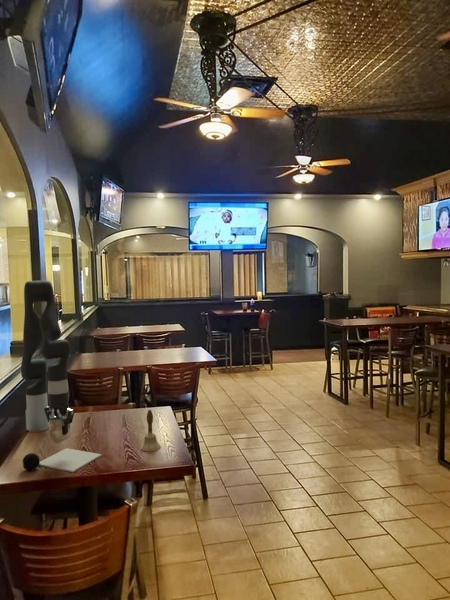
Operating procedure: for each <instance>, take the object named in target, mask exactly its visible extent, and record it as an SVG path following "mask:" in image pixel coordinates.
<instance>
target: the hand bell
mask: <svg viewBox="0 0 450 600" xmlns="http://www.w3.org/2000/svg"><path fill="white" fill-rule="evenodd" d="M153 421H154V416H153V412H152V410H151V409H148V410H147V413H146V422H147V430H148V431H147V433H146V434H145V435H144V440H143V443H142V445H141V446H140V448H139V449H140V450H141V451H142V452H149V453H150V452H156V451H158V450H160V449H161V444H159V443H158V441H157V437H156V434H155V433H154V432H153Z"/></svg>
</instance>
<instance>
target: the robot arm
mask: <svg viewBox="0 0 450 600" xmlns="http://www.w3.org/2000/svg"><path fill="white" fill-rule="evenodd" d="M23 300H24V301H23V302H24V317H23V318H24V321H23V331H22V332H23V333H22V334H23V335H22V337H23V338H22V340H23V341H22V342H23V343H22V345H23V347H22V357H21V367H20V375H21V378H22V379H23V380H25V381H31V380H36V379H37V381H36V382H34V383H33V384H31V385H29V386H27V387H26V388H25V400H26V409H25V412H24V413H25V428H26V430H27V431H28V432H30V433H38V432H44V431H46V430H48V429H50V428H49V419H52V418H55V417H59V419H60V420H61V422H62V435H66V434H67V433H68V424H70V425H71V424H72V423H73V420H74V416H75V411H76V410H75V409H74V408H73V409H71V408H70V406H69V401H70V398H69V397H70V395H69V394H70V393H69V381H68V362H69V357H70V354H71V350H72V348H71V344H70V342H69V340H67V339H62V338H61V339H60V337H61V336H62V332H61V328H60V324H59V320H58V316H57V309H56V301H55V300H56V299H55V292H54V289H53V284H52V282H51V281H50V280H46V279H44V280H43V279H42V280H29V281H25V284H24V287H23ZM45 302H46V306H45V309H44V311H43V312H42V314H41V316H40V315H39V313H38V312H37V311H36V309H35V307H34V304H35V303H45ZM40 348H41V355H42V357H43V358H41V357H40V358H33V356H34V355H35V353H37V351H38V350H39V349H40ZM32 358H33V359H32ZM52 359H53V360H54V359H59V360H58V361H57V362H55V363H52V364H51V365H49V366H47V361H46V360H52ZM63 416H64V417H63ZM64 419H65V421H64Z"/></svg>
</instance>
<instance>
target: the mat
mask: <svg viewBox="0 0 450 600" xmlns="http://www.w3.org/2000/svg"><path fill="white" fill-rule="evenodd" d="M100 457H102V454H100V453H96V452H91V451H84V450H78V449H72V448H68V447H66V448H64V449H62V450H60V451H58V452H57V453H54V454H53V455H50V456H47V458H44V459H43V460H41V461H40V463H39V466H38V467H44V468H49V469H54V470H59V471H65V472H69V473H70V472H71V473H74V472H76V471H78V470H80V469H81V468H83V467H85V466H86V465H88V464H91V462H93V461H95V460H97V459H99V458H100Z"/></svg>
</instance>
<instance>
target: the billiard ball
mask: <svg viewBox="0 0 450 600" xmlns="http://www.w3.org/2000/svg"><path fill="white" fill-rule="evenodd" d="M40 460H41V459H40V456H39V455H38V454H36V453H34V452H33V453H32V452H30V453H28V454H26V455H25V456H23V458H22V467H23V468H24V470H26V471H34V470H36V469H37V468H38V467H40V466H39V463H40Z"/></svg>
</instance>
